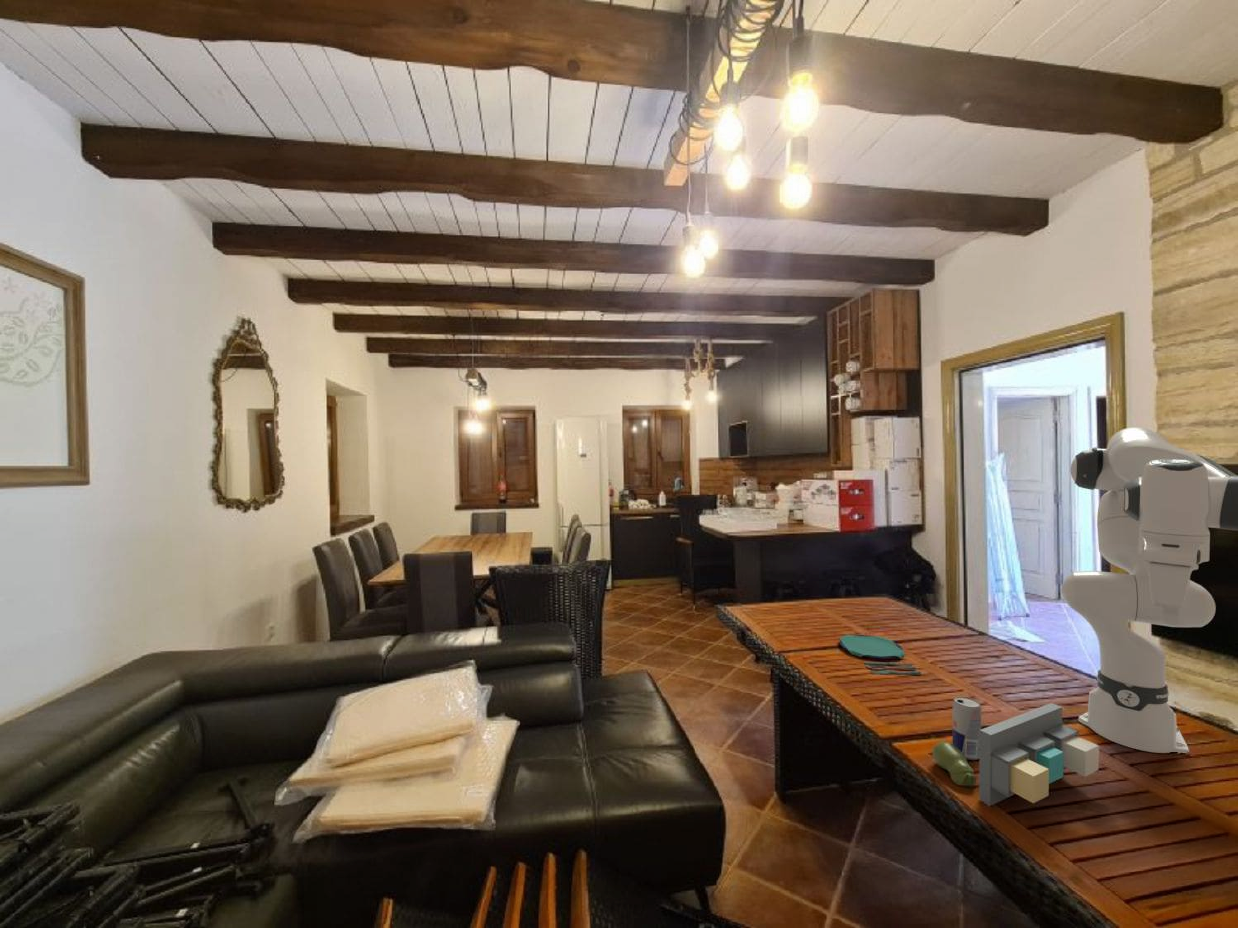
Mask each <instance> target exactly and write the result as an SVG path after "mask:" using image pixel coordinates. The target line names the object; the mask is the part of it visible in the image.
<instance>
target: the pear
mask: <svg viewBox="0 0 1238 928" xmlns="http://www.w3.org/2000/svg"><path fill="white" fill-rule="evenodd" d="M932 757H933V759H934V761H935V762H936V764H937V765H938V766H939V767H940V768H942V769H944V770H945V771H947V772H948V773H949V775H950V778H951V779H950V780H952V782H953V783H954V784H956V785H957V784H958V785H961V787H975V784H976V783H977V777H976V776H975V774H974V773H975V772H974V770H973V768H972V767H971V766H970V765H969V763H968V759H966V758H965V756H964V754H963V753H962V752H961V751H960V750H959V749H958V748H957V747H956V746H954V745H953V744H952V743H951V742H948V741H940V742H937V743H935V745H934V746H933V748H932ZM958 785H957V786H958Z"/></svg>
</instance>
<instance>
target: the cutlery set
mask: <svg viewBox="0 0 1238 928" xmlns="http://www.w3.org/2000/svg"><path fill="white" fill-rule="evenodd" d="M838 640H839V645H840V646H841V647H842V648H843V649H844V650H846V651H848V652H849V653H850V654H851V655H853V656H856V657H859V658H861V657H865V658H870V659H883V660H884V659H886V660H887V659H893V658H900V660H903V658H904V657H905V653H906V652H905V651H904V649H903V647H902V646H901V645H900V644H898V643H896V642H894V641H893V640H892V639H889V638H886V637H883V636H878V635H869V634H868V635H867V634H845V635H843V636H841V637H840V638H838ZM863 664H864V665H866V667H867V668H868V669H871V670H870V672H871V673H872V674H873V675H874V674H876V675H887V676H888V675H892V674H896V675H903V676H905V675H906V676H907V675H912V676H913V675H918V676H921V675H922V672H921V671H919V670H917V667H916V666H913V665H912V663H899V662H898V663H897V662H893V661H891V662H888V661H887V662H878V661H864V662H863ZM885 665H886V666H885ZM895 665H897V666H895ZM898 665H900V666H898ZM887 666H889V667H887ZM892 669H894V670H892ZM895 669H896V670H898V669H899V670H901V669H903V670H912V671H896V670H895ZM913 670H914V671H913ZM916 670H917V671H916Z"/></svg>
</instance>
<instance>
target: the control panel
mask: <svg viewBox="0 0 1238 928" xmlns="http://www.w3.org/2000/svg"><path fill="white" fill-rule="evenodd" d="M1062 723H1063V706H1060V705H1057V704H1055V703H1052V702H1050V703H1048V704H1045V705H1042V706H1040V707H1037V708H1035V709H1034V708H1033V709H1031V710H1029V711H1026V712H1024V713H1021V714H1018V715H1015V716H1013V717H1011V718H1007V719H1005V720H1003V721H1000V722H997V723H995V724H992V725H990V726H989V725H988V726H987V727H983V728H981V730H980V758H979V765H978V767H979V768H978V770H979V773H978V774H979V775H978V777H979V778H978V779H979V781H978V800H979V799H980V800H981V801H980V800H979V801H980V802H982V801H983V802H984V804H985V805H987V804H988V805H987V806H988V807H991V805H992V806H993V805H996V804H997V803H999V802H1002V801H1003V800H1006V799H1008V798H1010V797H1012V796H1015V795H1016V794H1015V793H1013V792H1011V791H1010V764H1011V763H1014V762H1016V761H1018V760H1020V759H1023V758H1027V759H1029V760H1031V761H1033V762H1035V763H1037V752H1039V751H1041V750H1043V749H1045V748H1048V747H1050V746H1051V747H1054V748H1056V749H1058V750H1060V751H1062V741H1063V740H1066V739H1068V738H1070V737H1072V736H1077V737H1079V738H1080V736H1079V733H1080V732H1079V730H1078V729H1075V728H1072V727H1070V726H1068V725H1065V724H1062ZM1067 769H1068V768H1066V767H1063V771H1065V770H1067ZM983 802H982V803H983Z"/></svg>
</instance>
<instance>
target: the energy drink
mask: <svg viewBox="0 0 1238 928" xmlns="http://www.w3.org/2000/svg"><path fill="white" fill-rule="evenodd" d="M981 729H982V707H981V703H980V702H979V701H977V700H975V699H973V698H971V697H967V696H956V697H954V698H953V700H952V739H951V740H952V741H951V742H952V743H951V744H953V745H954V746H956V747H957V748H958V749H959V750H960V751H961V752H962V753H963V754H964V756H965V758H966V760H967V761H968V760H969V761H977V760H980V730H981Z"/></svg>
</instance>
